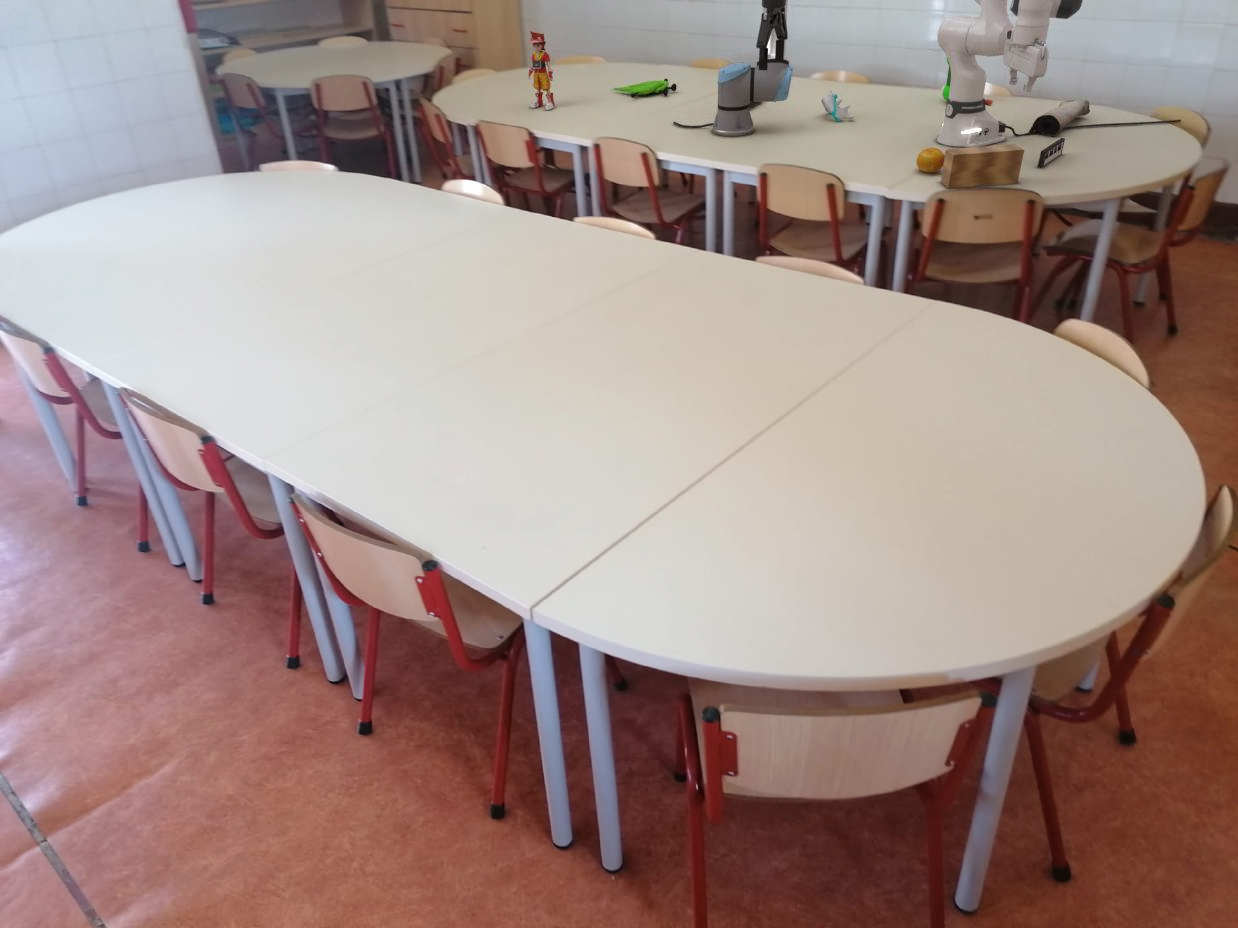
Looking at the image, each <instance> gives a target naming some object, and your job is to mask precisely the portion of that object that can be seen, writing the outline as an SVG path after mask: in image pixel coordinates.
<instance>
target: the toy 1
mask: <svg viewBox="0 0 1238 928" xmlns="http://www.w3.org/2000/svg"><path fill="white" fill-rule="evenodd" d="M529 33H530V35H531V36H528V37H527V38H528V39H529V40H528V41H527V43H529V44H530V43H531V44H532V48H533V50H534V51H533V52H532V55H531V58H530V59H531V63H530V66H528V74H527V75H528V76H527V77H528V79H529V80H531V75H532V74H533V84H532V85H533V86H532V87H533V88H534V89H535V90H536V92H534V95H535V97H536V100H535V101H533V102H531V105H530V108H531V109H535V108H538V107H542V106H544V101H543V100H544V99H543V95H544V92H546V94H545V97H546V99H547V103H546V104H545V106H544V110H546V111H549V110H553V109H554V107H555V106H556V105H555V99H554V92H551V91H550V90H551V86H552V84H551V82H552V81H553V80H554V77H553V73H554V71H555V70H554V69H552V68H551V63H550V61H551V59H550V58H551V57H550V54H549V53H548V52H547V50H546V48H545V46H546V44H547V41H545V35H544V33H543V32H542V33H539V32H535V31H529Z"/></svg>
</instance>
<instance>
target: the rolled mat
mask: <svg viewBox="0 0 1238 928" xmlns="http://www.w3.org/2000/svg"><path fill="white" fill-rule="evenodd" d="M1090 113H1091V110H1090V101H1089V100H1087V99H1073V100H1066V101H1063V102H1060V103H1059V105H1058V106H1057V107H1055V108H1052V109H1049V111H1047V112H1045V113H1043V114H1041V115H1040V116H1038V117H1036V119H1035V120H1034V121H1033V123H1032V125H1031V127H1030V129H1029V130H1028V133H1029V132H1033V131H1040V133H1041V134H1042V135H1045V136H1051V137H1054V136H1056V135H1058V134H1059V133H1061V131H1062V130H1064V129H1063V128H1064V127H1067V125H1068V124H1069V123H1071V122H1072V121H1073V120H1075V119H1076V118H1077V117H1082V116H1083V117H1084V116H1086V115H1089V114H1090Z"/></svg>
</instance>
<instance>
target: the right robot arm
mask: <svg viewBox="0 0 1238 928" xmlns="http://www.w3.org/2000/svg"><path fill="white" fill-rule="evenodd" d="M974 1H975V2H976V4H978V5H979V6H980V14H979V16H978V17H977V16H967V15H957V16H950V17H947V18H946V19H944V20H943V21H942V23H941V24H940V26H939V28H938V30H937V35H936V39H937V43H938V46H939V47H940V49H941V50H942V51H943V52H944V54H945V56H946V59H947V58H948V61H949V64H950V69H951V82H950V91H949V97H948V98H947V101H946V102H945V110H944V113H945V115H944V119H943V123H942V126H941V130H940V132H939V135H938V137H937V139H936V141H937V142H938V143H939V144H941V145H943V146H950V147H958V148H969V147H983V146H990V145H993V144H997V143H1001V142H1005V140H1006V138H1005V136H1004V135H1003V133H1006V129H1009V130H1010V131H1011V132H1012V134H1013V136H1016V137H1023V136H1029V135H1032V134H1039V133H1041V132H1040V131H1033V132H1029V131H1028V132H1026V133H1022V134H1020V133H1016V131H1015V128H1013V127H1012V126H1009V125H1007V124H1006V123H1004V122H1003V121H1001V120H998V119H997V118H996V117H994V116H993V115H992V114H991V113H990V112H989V111H988V110H987V107H992V106H993V104H994V101H993V100H992V99H990V98H987V99H986V98H984V93H985V88H986V83H987V74H986V71H985V69H984V68H983V67H982V66H980V65H979V63H978V62H977V58H976V56H982V57H999V56H1002V62H1003V65H1004V66H1007V67H1008V68H1009V69H1008V74H1009V75H1008V76H1009V80H1008V84H1009V85H1011V86H1015V85H1017V84H1018V81H1019V78H1018V72H1020V73H1021V74H1023V75H1026V76H1027V77H1026V80H1027V81H1026V84H1024V85H1023V89H1022V90H1023V92H1025V93H1031V92H1032V91H1033V86H1034V85H1035V83H1036V81H1037V79H1038V78H1039V79H1040V78H1044V77H1045V75H1046V74H1047V69H1048V63H1049V49H1048V47H1047V38H1048V32H1049V27H1050V19H1051V18H1054V19H1055V18H1056V19H1063V20H1068V19H1069V18H1071V17H1073V16H1074V15H1075V14H1076V13H1078V12H1079V11H1080V9H1081V8H1082V5H1083V1H1084V0H1011V4H1010V8H1009V10H1010V11H1011V13H1012V14H1013V15H1014V16H1015V17H1017V18H1016V20H1015V23H1014V24H1013V23H1012V21H1011V20H1010V17H1009V15H1008V0H974ZM949 64H948V65H949ZM986 106H987V107H986ZM1181 122H1182V119H1170V120H1156V121H1137V122H1135V121H1134V122H1114V123H1113V122H1111V123H1094V124H1080V125H1069V126H1065V127H1064V128H1063V129H1062V130H1068V129H1080V128H1081V129H1082V128H1093V127H1110V126H1132V125H1133V126H1135V125H1153V124H1154V125H1155V124H1170V123H1181Z"/></svg>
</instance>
